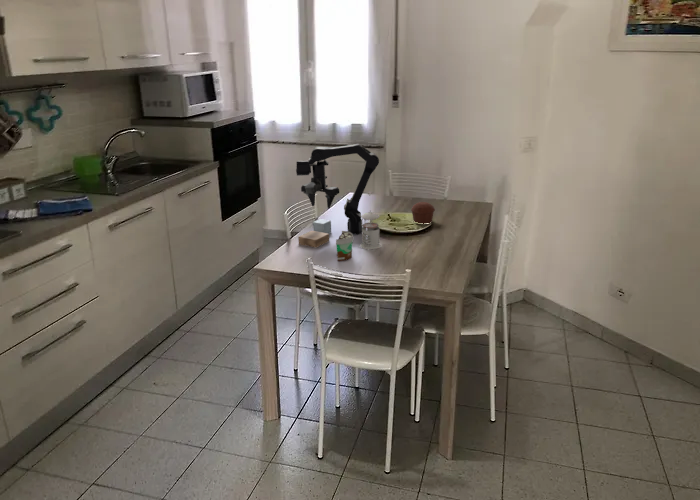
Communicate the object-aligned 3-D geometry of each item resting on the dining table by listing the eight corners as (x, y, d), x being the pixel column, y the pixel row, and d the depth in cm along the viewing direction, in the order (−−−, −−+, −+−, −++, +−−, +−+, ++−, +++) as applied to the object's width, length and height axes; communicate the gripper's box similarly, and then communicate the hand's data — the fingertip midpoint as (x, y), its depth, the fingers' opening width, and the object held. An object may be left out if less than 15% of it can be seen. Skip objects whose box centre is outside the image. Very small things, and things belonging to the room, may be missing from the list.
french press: (366, 250, 253) (365, 195, 244) (354, 243, 263) (352, 189, 254) (386, 246, 257) (385, 191, 249) (373, 239, 267) (371, 186, 258)
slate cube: (331, 232, 279) (330, 220, 277) (323, 236, 274) (323, 223, 272) (321, 230, 282) (320, 218, 280) (313, 234, 277) (313, 222, 275)
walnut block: (329, 241, 267) (328, 233, 265) (316, 248, 259) (315, 240, 258) (312, 238, 272) (311, 230, 271) (298, 244, 264) (298, 236, 263)
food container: (351, 263, 240) (350, 240, 237) (336, 262, 241) (335, 239, 238) (356, 252, 251) (356, 230, 248) (343, 252, 253) (342, 230, 249)
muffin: (408, 224, 286) (408, 205, 283) (414, 218, 296) (414, 199, 292) (431, 226, 282) (432, 206, 278) (437, 220, 291) (437, 200, 288)
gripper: (292, 176, 267) (294, 209, 272) (324, 180, 257) (326, 214, 262) (307, 171, 276) (309, 203, 281) (339, 175, 265) (340, 208, 271)
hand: (321, 207), depth 274 cm, fingers open, 9 cm apart
